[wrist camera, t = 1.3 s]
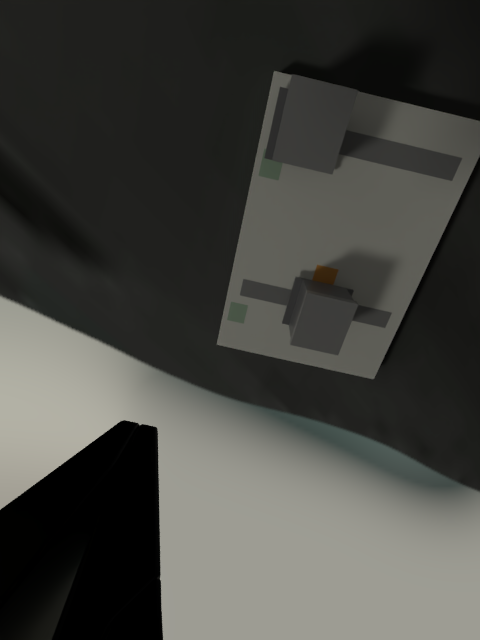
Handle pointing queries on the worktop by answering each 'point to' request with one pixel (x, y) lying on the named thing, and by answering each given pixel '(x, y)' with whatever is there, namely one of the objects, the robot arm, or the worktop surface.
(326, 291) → the breaker
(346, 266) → the breaker board
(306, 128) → the block
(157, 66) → the worktop surface
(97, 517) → the robot arm
